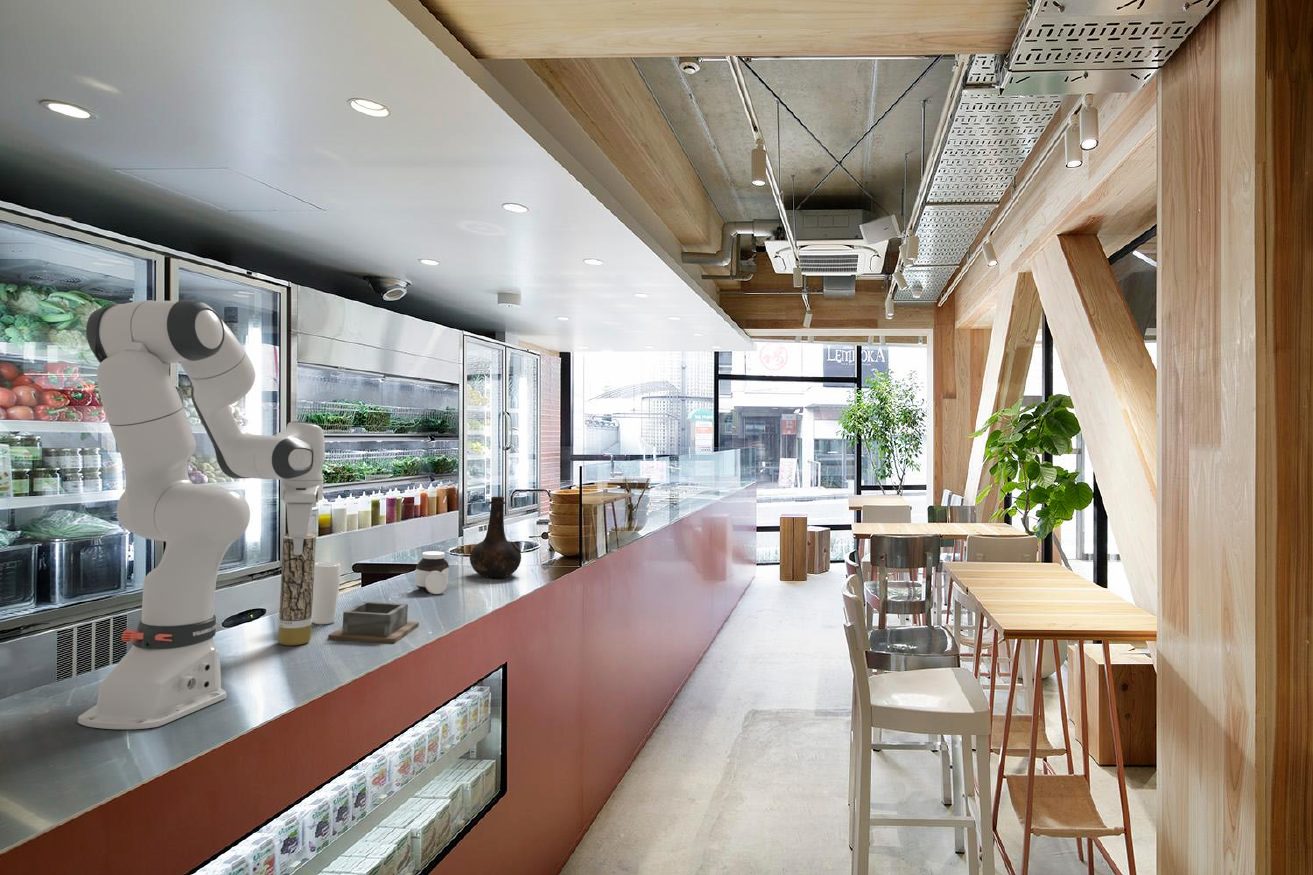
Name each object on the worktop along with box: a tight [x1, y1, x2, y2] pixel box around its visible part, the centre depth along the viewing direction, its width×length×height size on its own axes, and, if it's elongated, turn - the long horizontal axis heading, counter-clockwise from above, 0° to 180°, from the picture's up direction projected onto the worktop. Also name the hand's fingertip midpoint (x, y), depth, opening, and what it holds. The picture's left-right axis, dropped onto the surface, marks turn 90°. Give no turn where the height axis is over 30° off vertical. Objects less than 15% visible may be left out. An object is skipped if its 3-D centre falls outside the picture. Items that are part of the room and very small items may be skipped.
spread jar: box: [414, 550, 450, 595], centre depth 229 cm, size 12×11×12 cm
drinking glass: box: [312, 561, 342, 626], centre depth 187 cm, size 7×7×15 cm
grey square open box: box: [327, 601, 420, 644], centre depth 180 cm, size 16×16×6 cm
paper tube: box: [277, 532, 317, 647], centre depth 169 cm, size 7×7×25 cm
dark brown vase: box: [469, 496, 522, 579], centre depth 258 cm, size 18×18×28 cm
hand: (298, 551), depth 169 cm, fingers closed on paper tube, 7 cm apart
